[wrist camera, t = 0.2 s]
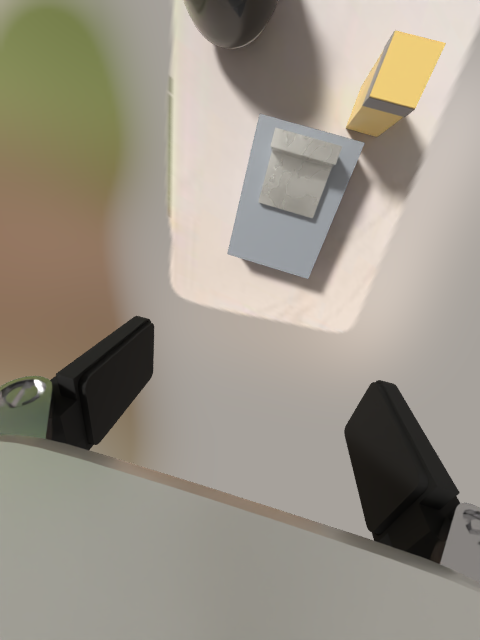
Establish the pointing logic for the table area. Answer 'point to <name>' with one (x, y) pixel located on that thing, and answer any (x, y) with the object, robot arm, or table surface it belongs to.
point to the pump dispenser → (230, 20)
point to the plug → (394, 83)
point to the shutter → (297, 172)
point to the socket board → (280, 225)
